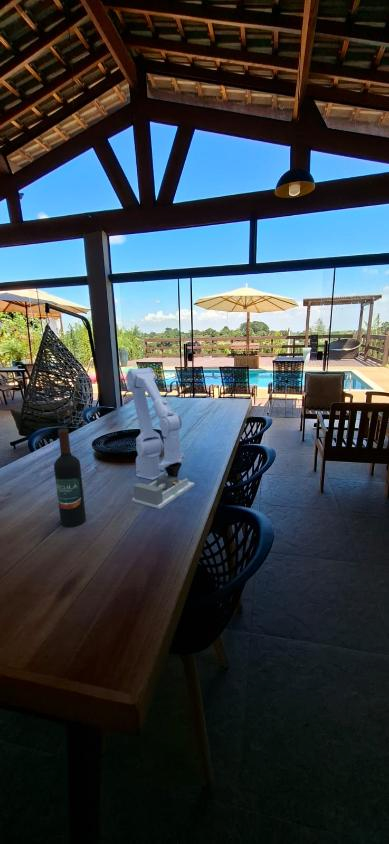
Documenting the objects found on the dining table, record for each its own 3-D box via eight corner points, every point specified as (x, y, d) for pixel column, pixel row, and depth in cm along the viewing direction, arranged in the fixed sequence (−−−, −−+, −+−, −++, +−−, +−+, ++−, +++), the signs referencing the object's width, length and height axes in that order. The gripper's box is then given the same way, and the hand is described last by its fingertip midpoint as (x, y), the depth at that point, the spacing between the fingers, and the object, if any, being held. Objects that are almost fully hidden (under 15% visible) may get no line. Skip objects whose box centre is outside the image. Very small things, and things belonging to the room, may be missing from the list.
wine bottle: (90, 517, 118) (81, 427, 111) (76, 528, 111) (65, 433, 104) (71, 513, 120) (60, 425, 113) (55, 525, 113) (43, 432, 106)
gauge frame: (132, 501, 129) (131, 485, 127) (169, 479, 147) (168, 465, 145) (159, 508, 122) (158, 492, 121) (194, 485, 140) (194, 470, 139)
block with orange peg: (152, 490, 133) (151, 480, 133) (163, 484, 139) (163, 474, 138) (173, 496, 129) (172, 485, 128) (184, 489, 134) (183, 478, 133)
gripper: (169, 454, 127) (170, 490, 130) (191, 443, 139) (192, 476, 142) (152, 451, 131) (154, 486, 134) (175, 441, 143) (177, 473, 146)
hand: (173, 481), depth 138 cm, fingers closed
